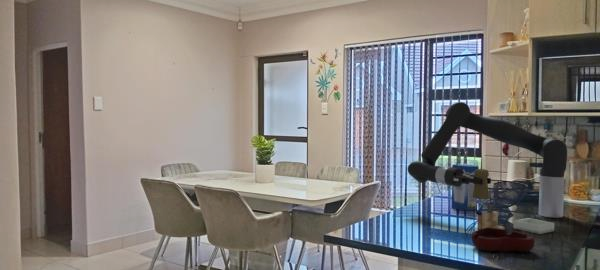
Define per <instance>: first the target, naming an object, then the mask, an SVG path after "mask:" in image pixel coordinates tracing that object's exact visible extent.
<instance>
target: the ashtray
mask: <svg viewBox="0 0 600 270" xmlns="http://www.w3.org/2000/svg"><path fill="white" fill-rule="evenodd" d="M471 242H472V244H473V245H474V247H476V248H477V249H479V250H480V252H482V253H486V254H490V253H492V252H502V253H506V252H507V253H508V252H517V253H520V254H527V253H528V252H530V251H532V250H533V248H534V246H535V238H534V237H533V236H530V235H527V233H524V232H522V231H520V232H519V231H515V230H513V231H512V232H511V233H508V232H507V231H506V229H503V230H502V229H495V228H483V229H476V230H474V231H472V232H471Z"/></svg>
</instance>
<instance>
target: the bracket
mask: <svg viewBox="0 0 600 270" xmlns="http://www.w3.org/2000/svg"><path fill="white" fill-rule="evenodd" d="M493 207H494V206H493V204H489V203H488V204H487V212H483V213H481V214H480V215H477V230H480V229H483V228H495V229H502V230H506V228H505V226H502V225H498V223H499V220H498V219H499V218H498V217H499V212H498V211H496V210H495V211H494V209H493Z"/></svg>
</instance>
